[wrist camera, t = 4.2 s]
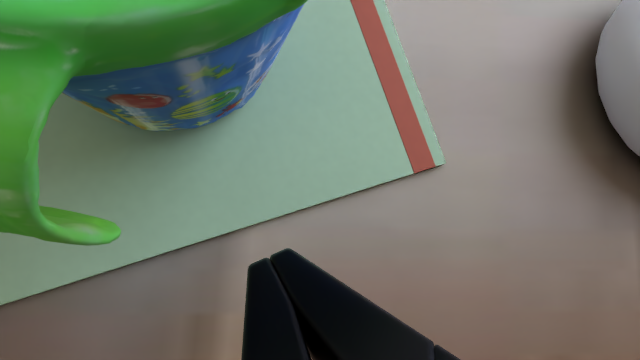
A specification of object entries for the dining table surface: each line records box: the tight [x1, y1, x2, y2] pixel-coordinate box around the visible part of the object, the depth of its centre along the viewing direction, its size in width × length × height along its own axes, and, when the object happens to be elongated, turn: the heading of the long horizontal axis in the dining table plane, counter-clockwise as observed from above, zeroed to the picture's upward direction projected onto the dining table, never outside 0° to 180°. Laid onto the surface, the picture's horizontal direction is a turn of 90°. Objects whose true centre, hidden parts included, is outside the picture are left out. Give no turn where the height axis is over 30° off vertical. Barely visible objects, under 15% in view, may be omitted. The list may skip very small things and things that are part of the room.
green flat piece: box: [0, 0, 446, 306], centre depth 15 cm, size 13×24×1 cm, turn 109°
